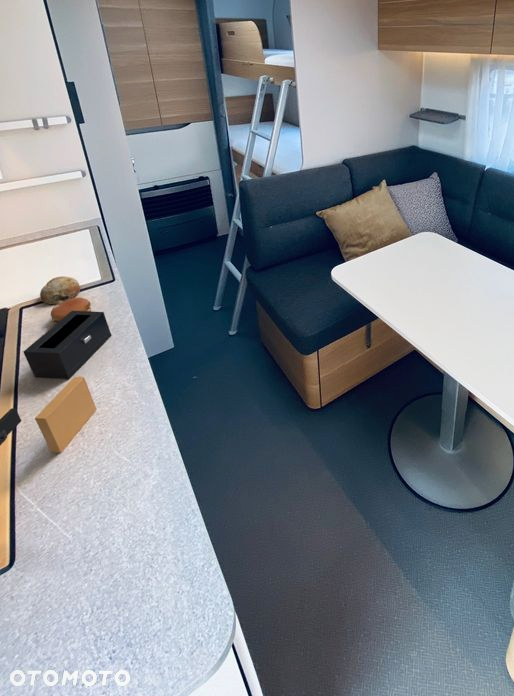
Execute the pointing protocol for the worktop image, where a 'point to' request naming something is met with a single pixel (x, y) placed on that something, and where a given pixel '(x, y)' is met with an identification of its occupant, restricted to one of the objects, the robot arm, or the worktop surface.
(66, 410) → the toast
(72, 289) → the rock
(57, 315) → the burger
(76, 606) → the worktop surface
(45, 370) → the toaster
